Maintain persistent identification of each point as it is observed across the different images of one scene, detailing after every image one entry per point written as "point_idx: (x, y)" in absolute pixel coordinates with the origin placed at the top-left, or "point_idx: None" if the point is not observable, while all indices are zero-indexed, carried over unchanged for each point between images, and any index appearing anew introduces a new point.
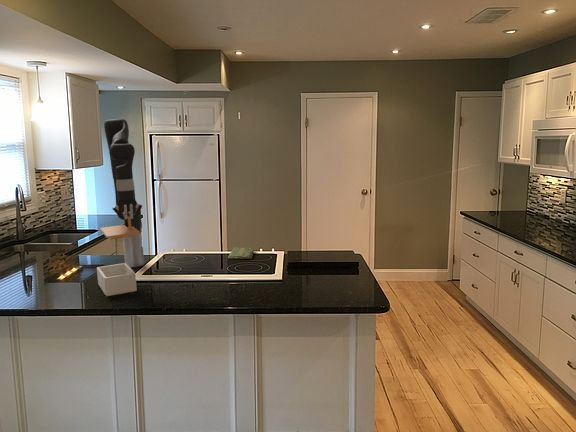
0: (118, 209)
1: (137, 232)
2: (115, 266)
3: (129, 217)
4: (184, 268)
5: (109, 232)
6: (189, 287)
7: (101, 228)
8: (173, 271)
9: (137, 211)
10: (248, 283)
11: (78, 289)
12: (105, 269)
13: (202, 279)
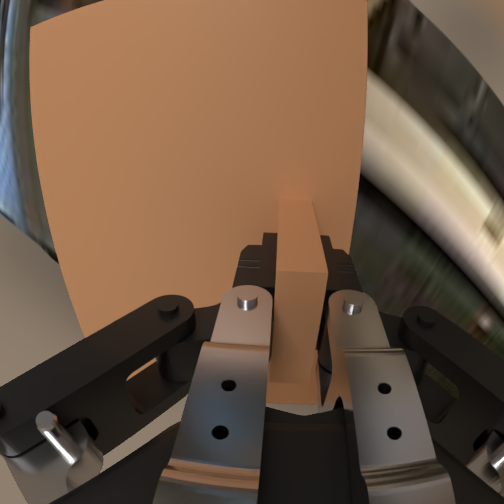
0: (96, 464)
1: (298, 403)
2: None
3: (316, 331)
4: (490, 97)
5: (99, 294)
6: (407, 298)
7: (38, 66)
8: (452, 101)
9: (441, 430)
10: (497, 337)
11: None
12: None
13: (469, 253)
